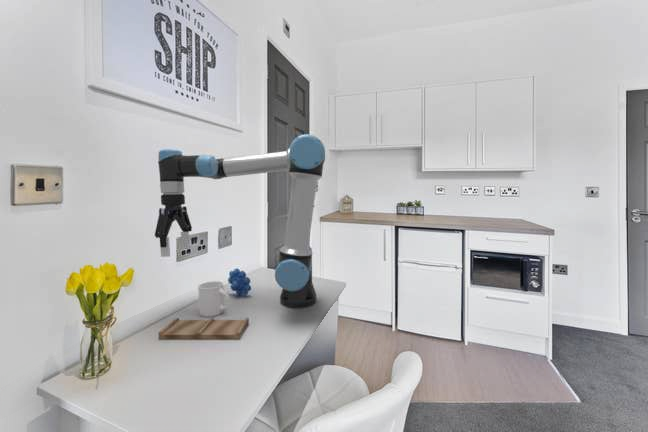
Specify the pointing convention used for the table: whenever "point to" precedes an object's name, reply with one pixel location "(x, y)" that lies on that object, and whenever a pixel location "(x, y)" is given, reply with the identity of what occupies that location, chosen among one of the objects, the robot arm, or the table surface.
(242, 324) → the ledge board
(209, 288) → the mug
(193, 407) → the table surface
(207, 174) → the robot arm
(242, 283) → the grapes
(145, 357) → the table surface
